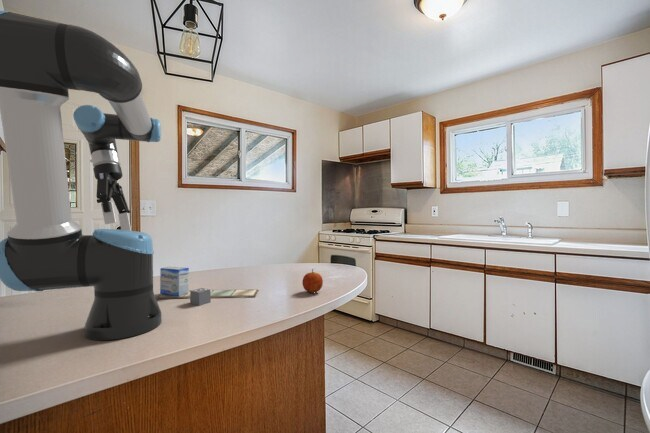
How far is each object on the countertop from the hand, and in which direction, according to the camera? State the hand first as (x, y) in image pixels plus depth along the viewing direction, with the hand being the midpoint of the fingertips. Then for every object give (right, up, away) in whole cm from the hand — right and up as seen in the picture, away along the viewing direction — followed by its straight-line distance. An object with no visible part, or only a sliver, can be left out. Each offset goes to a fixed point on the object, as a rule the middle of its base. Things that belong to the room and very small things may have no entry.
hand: (119, 227), depth 96 cm
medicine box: (+16, -22, +3) cm, 28 cm away
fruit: (+62, -23, +6) cm, 66 cm away
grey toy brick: (+29, -23, -6) cm, 37 cm away
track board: (+28, -22, +4) cm, 36 cm away
